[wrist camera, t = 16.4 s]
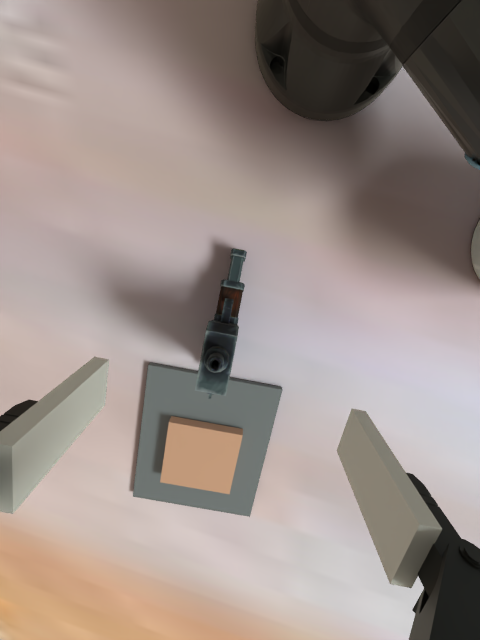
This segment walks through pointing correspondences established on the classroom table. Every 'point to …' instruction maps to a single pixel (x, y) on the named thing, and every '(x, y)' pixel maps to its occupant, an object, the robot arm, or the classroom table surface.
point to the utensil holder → (476, 250)
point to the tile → (200, 455)
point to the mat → (231, 410)
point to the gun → (222, 333)
